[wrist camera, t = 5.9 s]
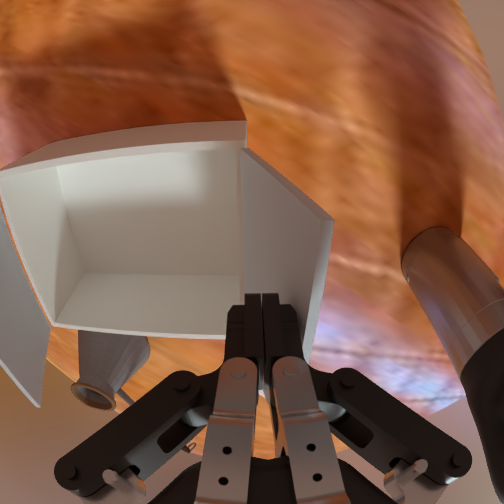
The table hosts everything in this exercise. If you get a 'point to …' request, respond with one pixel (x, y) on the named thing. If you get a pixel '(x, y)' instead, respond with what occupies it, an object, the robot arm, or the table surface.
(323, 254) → the flap
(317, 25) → the table surface
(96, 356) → the coffee pot
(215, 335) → the carton
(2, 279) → the flap
